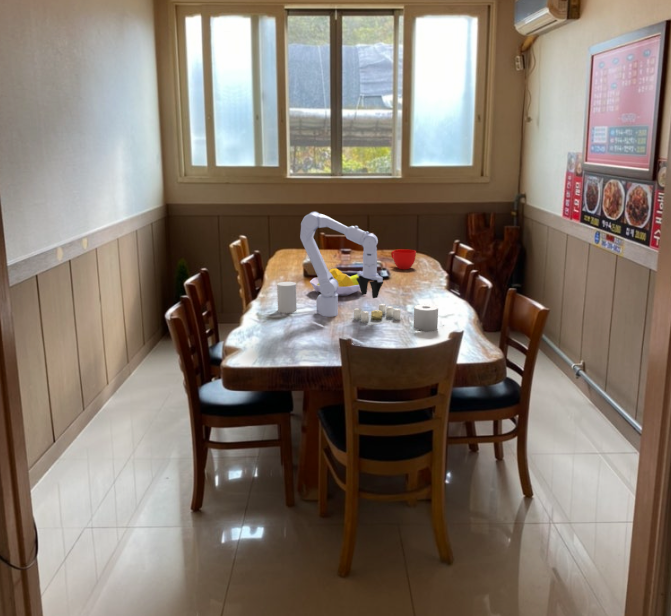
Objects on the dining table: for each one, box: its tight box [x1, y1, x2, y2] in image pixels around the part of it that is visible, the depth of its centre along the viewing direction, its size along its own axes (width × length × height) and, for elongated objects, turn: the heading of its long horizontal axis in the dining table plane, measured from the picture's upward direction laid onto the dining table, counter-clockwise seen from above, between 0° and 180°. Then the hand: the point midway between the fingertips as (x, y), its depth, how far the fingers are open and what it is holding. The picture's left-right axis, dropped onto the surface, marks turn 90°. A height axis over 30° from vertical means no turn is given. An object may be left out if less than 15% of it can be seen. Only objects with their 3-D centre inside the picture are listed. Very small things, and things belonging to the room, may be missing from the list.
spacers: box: [353, 303, 401, 324], centre depth 265 cm, size 12×16×4 cm
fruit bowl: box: [309, 267, 361, 297], centre depth 312 cm, size 28×27×11 cm
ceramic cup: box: [390, 248, 417, 270], centre depth 372 cm, size 13×17×10 cm
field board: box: [350, 314, 402, 327], centre depth 266 cm, size 13×17×1 cm
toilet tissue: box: [413, 303, 439, 333], centre depth 256 cm, size 9×13×9 cm
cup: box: [276, 281, 298, 314], centre depth 280 cm, size 8×8×12 cm
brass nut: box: [370, 309, 382, 320], centre depth 265 cm, size 5×5×3 cm
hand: (369, 296), depth 268 cm, fingers open, 7 cm apart
